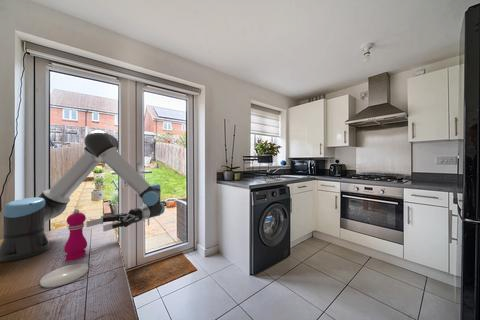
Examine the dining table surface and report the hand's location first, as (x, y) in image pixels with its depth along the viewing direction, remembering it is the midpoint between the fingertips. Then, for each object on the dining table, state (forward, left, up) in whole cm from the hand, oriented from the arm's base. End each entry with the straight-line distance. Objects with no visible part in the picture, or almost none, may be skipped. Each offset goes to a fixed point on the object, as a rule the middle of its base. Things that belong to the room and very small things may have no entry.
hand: (94, 226), depth 82 cm
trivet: (+12, -15, -11) cm, 22 cm away
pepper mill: (-1, -7, -11) cm, 13 cm away
